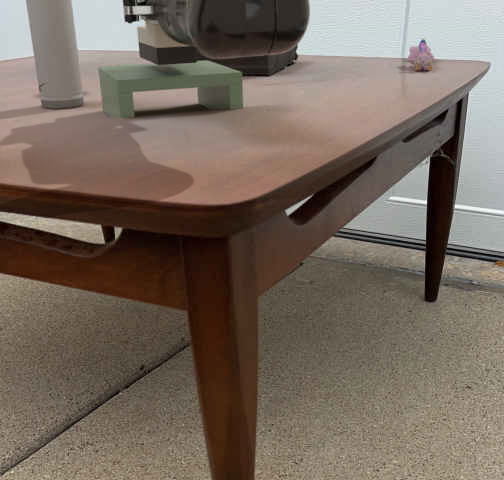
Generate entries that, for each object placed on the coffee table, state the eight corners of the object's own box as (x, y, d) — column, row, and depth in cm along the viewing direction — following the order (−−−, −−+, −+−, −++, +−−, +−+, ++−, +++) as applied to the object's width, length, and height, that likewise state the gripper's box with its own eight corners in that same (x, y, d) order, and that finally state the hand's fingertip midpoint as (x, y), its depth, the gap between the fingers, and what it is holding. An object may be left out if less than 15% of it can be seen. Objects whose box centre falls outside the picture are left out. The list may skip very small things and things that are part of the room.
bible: (318, 62, 148) (319, 13, 144) (261, 78, 127) (260, 20, 123) (224, 59, 158) (222, 13, 154) (156, 73, 137) (152, 20, 133)
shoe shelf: (121, 130, 85) (116, 80, 83) (102, 110, 99) (98, 66, 97) (243, 120, 90) (242, 72, 88) (209, 102, 104) (207, 60, 101)
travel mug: (35, 109, 101) (11, -43, 92) (48, 102, 107) (28, -42, 98) (77, 109, 101) (57, -44, 92) (88, 101, 107) (71, -43, 98)
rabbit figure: (439, 79, 130) (433, 57, 142) (443, 47, 127) (436, 27, 139) (405, 79, 131) (402, 57, 143) (408, 47, 128) (404, 27, 140)
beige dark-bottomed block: (157, 65, 86) (150, -24, 81) (139, 57, 96) (132, -22, 92) (196, 62, 87) (191, -25, 83) (174, 55, 97) (169, -23, 93)
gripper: (260, -31, 74) (215, -27, 89) (127, -28, 70) (103, -24, 85) (261, 43, 78) (218, 35, 92) (135, 50, 73) (110, 40, 88)
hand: (163, 7), depth 88 cm, fingers closed on beige dark-bottomed block, 5 cm apart
